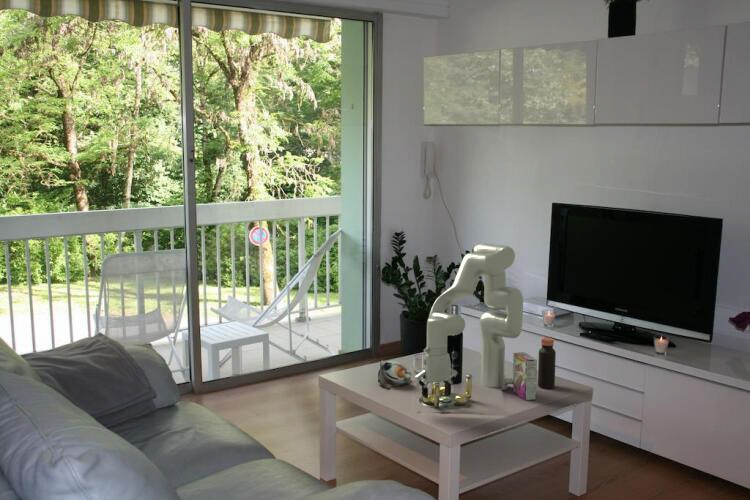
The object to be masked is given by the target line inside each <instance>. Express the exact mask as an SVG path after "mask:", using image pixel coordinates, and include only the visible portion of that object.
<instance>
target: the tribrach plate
mask: <svg viewBox="0 0 750 500" xmlns="http://www.w3.org/2000/svg"><path fill="white" fill-rule="evenodd" d="M429 394H432V392H431V393H429ZM456 395H460V393H455V392H451V395H449V396H442V395H440V393H439V406H434V404H424V403H423V396H422V395H421V397H420V398H419V399H418V401H419V403H420V404H421V405H422V406H423V407H426V408H430V409H433V410H446V411H447V410H448V411H451V410H459V409H464V408H467V407H468V406H470V405H471V404H472V399H471V398H467V404H466V405H456V404H455V396H456ZM434 413H436V414H445V412H441V411H434ZM447 414H450V412H446V415H447Z"/></svg>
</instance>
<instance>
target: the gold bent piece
mask: <svg viewBox="0 0 750 500" xmlns="http://www.w3.org/2000/svg"><path fill="white" fill-rule="evenodd" d="M465 378H466V380H465V381H466V382H465V383H466V384H465V385H466V391H465V393H463V394H462V393H461V394H460V393H459V394H460V395H456V396H455V404H456V405H466V404H467V398H470V399H472V390H473V389H472V381H473V374H469V373H468V374H466V375H465Z"/></svg>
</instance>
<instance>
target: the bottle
mask: <svg viewBox="0 0 750 500" xmlns="http://www.w3.org/2000/svg"><path fill="white" fill-rule="evenodd" d="M554 343H555V340H554V338H552V337H542V338H541V342H540V344H541V348H540V349H539V350H538V360H537V361H538V362H537V365H538V368H537V386H538V388H541V389H546V390H551V389H554V388H555V384H556V356H557V355H556V353H557V352H556V350H555V349H554Z"/></svg>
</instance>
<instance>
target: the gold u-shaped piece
mask: <svg viewBox="0 0 750 500" xmlns="http://www.w3.org/2000/svg"><path fill="white" fill-rule="evenodd" d="M431 393H432V394H434V385H433V383H431ZM439 393H440V395H442V396H449V395H448V394H446V393H445V384H444V385H439ZM451 393H452V391H451V392H450V395H451Z"/></svg>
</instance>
